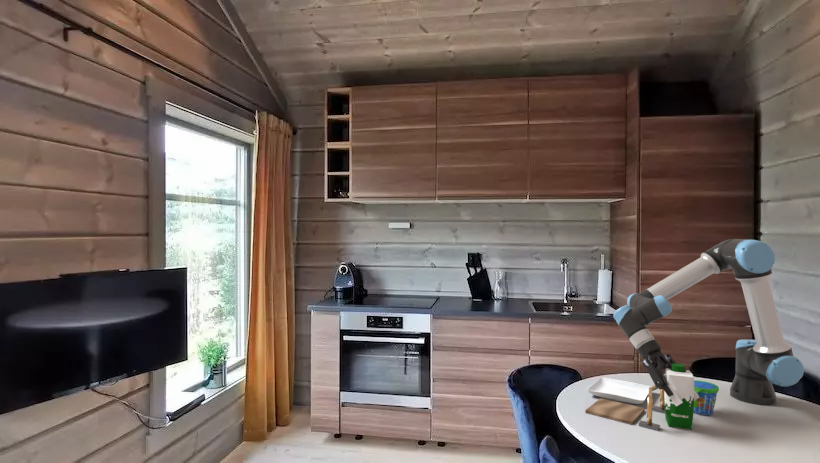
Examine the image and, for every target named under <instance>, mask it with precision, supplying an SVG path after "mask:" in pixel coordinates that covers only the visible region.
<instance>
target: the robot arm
mask: <svg viewBox="0 0 820 463" xmlns="http://www.w3.org/2000/svg"><path fill="white" fill-rule="evenodd" d="M775 262H776V254H775V251H774V250H773V248H772V247H771V246H770V245H768V244H767V243H765V242H763V241H762V240H761V241H760V240H756V239H751V238H749V239H747V238H746V239H744V238H743V239H742V238H740V239H739V238H731V239H726V240H724V241H720V242H719V243H717V244H715V245H713V246H712V247H711V248H709V249H707V250H705V251H704V252H702V253H701V254H700V257H699V258H697V259H696V260H694V261H692V262H690V263H689V264H687V265H685V266H683V267H682V268H680V269H679V270H676V271H675V272H673V273H671V274H669V275H668V276H667V277H665V278H664V279H661V280H660V281H658V282H657V283H655V284H653V285H651V286H650V287H648V288H646V289H644V290H642V291H641V292H638V293H637V292H635V293H632V294H630V295H629V296H628V298H627V300H626V304H625V305H623V306H621V307H619V308H617V309H616V310H615V311H614V312H613V316H612V317H613V319H614V320H615V321H616V323H617V325H618V327H619V328H620V329H621V331H622V332H623V333H624V334H625V336H626V337H627V339H628V340H629V341H630V342H631V345H632V346H633V347H634V348H635V349H636V350H637V353H638V354H639V355H640V357H641V358H642V359H643V361H642V362H641V364H642V365H643V366H644V367H645V369H646V370H647V373H648V374H649V376H650V379H651V380H652V381H653V383H654V386H656V387H657V388H659V391H660V390H661V389H663V390H664V391H665V392H666V394H667V395H668V396H669V397H670V399H671V400H672V402H673V403H674V404H675V406H678V405H680V404H681V403H683V401H682V400H681V399H680V397H679V396H678V395H677V393H676V392H675V391H674V389H673V388H672V386H671V385H668V384H667V381H666V378H665V372H664V371H665V369H666V368H668V369H669V368H671V369H672V364H673V363H677V362H676V361H675V360H674V358H672V355H671V354H670V353H668V354H666V355H665V354H664V353H663V352H662V351H661V350H662V347H661V345H660V344H659V342H658V341H657V340H656V339H655V337H654V335H652V334H651V331H649V329H648V328H647V327H646V326H648V325H650V324H652V323H655V322H656V321H658V320H660V319H662V318H665V317H666V316H668V315H669V314H670V313H672V312H673V308H672V305H671V304H670V302H669V301H668V300H670V299H672V298H673V297H675V296H676V295H679V294H680V293H681V292H684V291H685V290H687V289H689V288H691V287H692V286H694V285H697V284H698V283H699V282H701V281H702V280H704V279H706V278H708V277H709V276H711V275H713V274H715V275H719V274H720V273H722V272H723V271H724V272H725V271H727V270H732V272H733V277H734V279H735V280H736V281H738V282H740V285H741V288H742V291H743V292H742V293H743V295H744V296H743V297H744V300H745V304H746V308H747V311H748V316H749V320H750V324H751V327H752V331H753V334H754V335H753V336H754V339H742V338H741V339H738V340H736V344H735V376H734V378H733V381H732V383H731V385H730V388H729V395H730V396H731V397H732V398H734V399H736V400H738V401H741V402H745V403H750V404H754V405H755V404H756V405H764V406H765V405H775V404H776V403H777V394H776V392H775V389H774V386H773V385H776V386H780V387H790V386H793V385H796V384H797V383H798V382H799V381H800V379H802V378H803V376H804V372H805V370H804V365H803V362H802V361H801V360H799V359H798V357H795V356H794V352H793V350H792V345H791V344H789V343H788V342H786V341H785V338H784V334H783V331H782V330H783V329H782V326H781V323H780V319H779V314H778V311H777V308H776V304H775V299H774V295H773V291H772V287H771V283H770V280H769V279H770V277H771V275H772V274H773V270H772V268H773V267H774V264H775ZM667 385H668V386H667ZM698 398H699V396H698V394H697V393H696V392H695V390H694V401H695V400H696V399H698Z"/></svg>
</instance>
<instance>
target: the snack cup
mask: <svg viewBox="0 0 820 463" xmlns="http://www.w3.org/2000/svg"><path fill="white" fill-rule="evenodd" d="M694 390H695V392H696V393H697V394H698V396H699V398H698V399H696V400H695V401H694V413H695V414H697V415H702V416H710V415H712V414H714V410H715V405H716V400H717V394H718V393H719V390H720V388H719V386H718V385H717V384H715V383H712V382H708V381H704V380H695V379H694ZM694 413H693V414H694Z"/></svg>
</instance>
